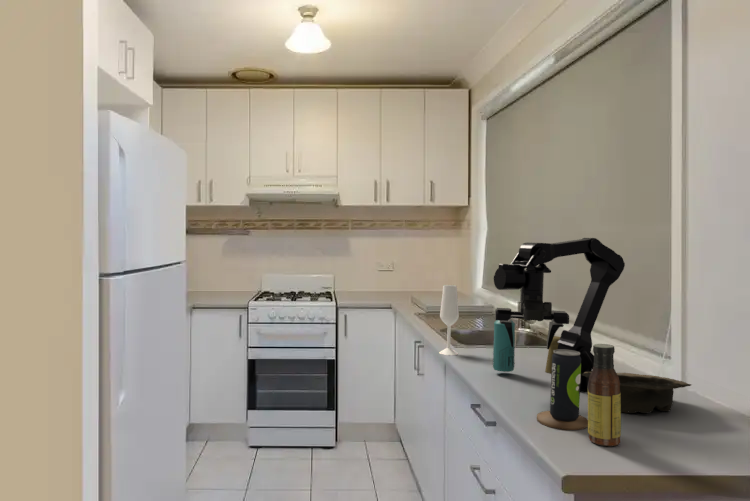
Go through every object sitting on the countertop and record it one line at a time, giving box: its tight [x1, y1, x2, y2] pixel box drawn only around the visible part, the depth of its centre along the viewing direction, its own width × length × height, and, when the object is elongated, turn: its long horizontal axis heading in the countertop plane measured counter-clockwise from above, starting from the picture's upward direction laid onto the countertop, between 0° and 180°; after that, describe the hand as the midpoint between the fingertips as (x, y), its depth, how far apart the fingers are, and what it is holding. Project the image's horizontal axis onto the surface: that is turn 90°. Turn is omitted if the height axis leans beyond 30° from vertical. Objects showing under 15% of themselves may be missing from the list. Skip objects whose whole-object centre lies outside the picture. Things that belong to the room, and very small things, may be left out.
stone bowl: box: [582, 371, 693, 414], centre depth 143 cm, size 25×25×9 cm
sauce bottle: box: [587, 343, 622, 447], centre depth 116 cm, size 7×6×20 cm
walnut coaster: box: [536, 410, 588, 431], centre depth 128 cm, size 11×11×1 cm
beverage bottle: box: [492, 308, 516, 373], centre depth 172 cm, size 6×7×20 cm
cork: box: [545, 335, 561, 375], centre depth 176 cm, size 6×6×11 cm
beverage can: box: [549, 349, 581, 422], centre depth 128 cm, size 6×6×15 cm
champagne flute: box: [438, 284, 460, 356], centre depth 202 cm, size 7×7×24 cm
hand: (529, 347), depth 152 cm, fingers open, 9 cm apart
